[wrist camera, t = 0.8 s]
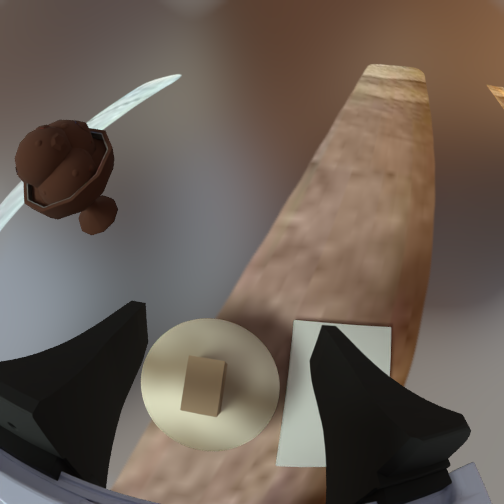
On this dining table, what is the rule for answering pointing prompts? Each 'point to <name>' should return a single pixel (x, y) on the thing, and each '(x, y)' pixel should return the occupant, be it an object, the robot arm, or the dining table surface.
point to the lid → (210, 384)
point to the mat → (302, 394)
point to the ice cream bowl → (68, 173)
